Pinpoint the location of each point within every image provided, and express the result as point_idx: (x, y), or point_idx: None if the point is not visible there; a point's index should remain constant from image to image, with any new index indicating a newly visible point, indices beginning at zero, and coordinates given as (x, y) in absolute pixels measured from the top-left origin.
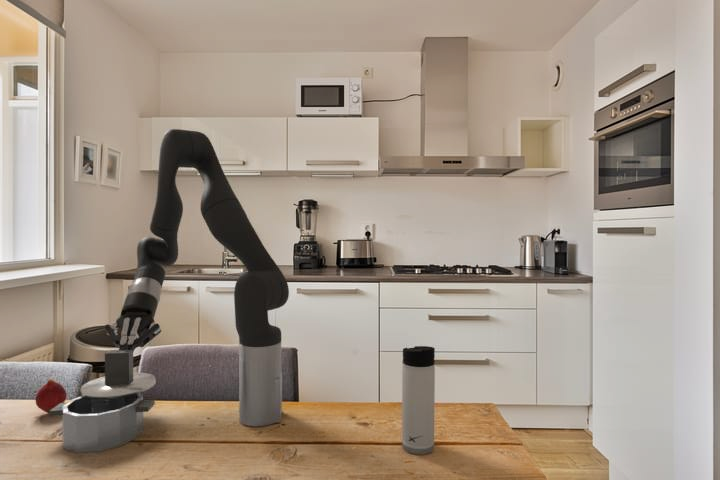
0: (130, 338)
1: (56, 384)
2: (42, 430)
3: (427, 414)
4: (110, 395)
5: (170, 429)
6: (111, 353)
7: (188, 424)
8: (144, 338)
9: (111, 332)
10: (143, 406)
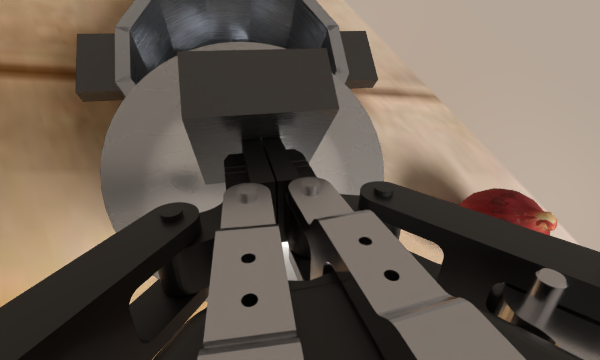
0: (264, 216)
1: (513, 221)
2: (401, 137)
3: None
4: (218, 46)
5: (65, 135)
6: (287, 49)
7: (14, 166)
8: (121, 236)
9: (488, 231)
10: (95, 38)
